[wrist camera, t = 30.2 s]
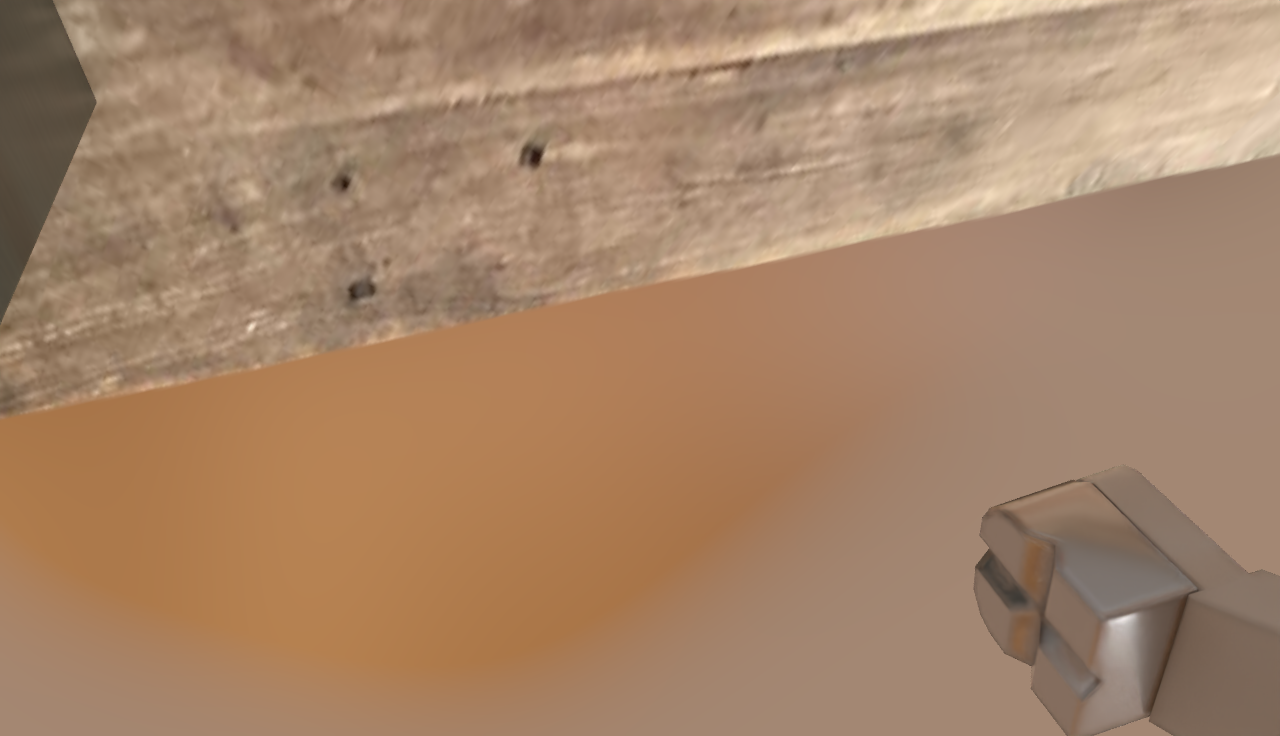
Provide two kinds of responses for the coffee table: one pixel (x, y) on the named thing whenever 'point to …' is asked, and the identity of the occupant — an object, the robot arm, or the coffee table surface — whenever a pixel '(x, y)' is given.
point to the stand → (34, 126)
